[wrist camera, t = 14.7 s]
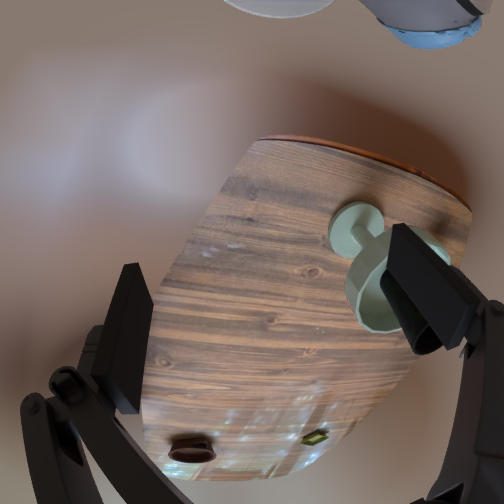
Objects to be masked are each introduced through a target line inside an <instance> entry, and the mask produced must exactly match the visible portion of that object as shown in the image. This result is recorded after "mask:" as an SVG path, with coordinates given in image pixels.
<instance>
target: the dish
mask: <svg viewBox="0 0 504 504" xmlns="http://www.w3.org/2000/svg"><path fill="white" fill-rule="evenodd" d="M168 456H169V457H170V458H171V459H172V460H175V461H179V462H184V463H205V462H209V461H212V460H214V459H215V458H216V454H215V453H214V451H213V448H212V446H211V445H210V444H208V441H207V439H204V438H199V439H195V440H182V441H178V442H176V443H174V444H173V446H172V448H171V450H170V452H169V453H168Z"/></svg>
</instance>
